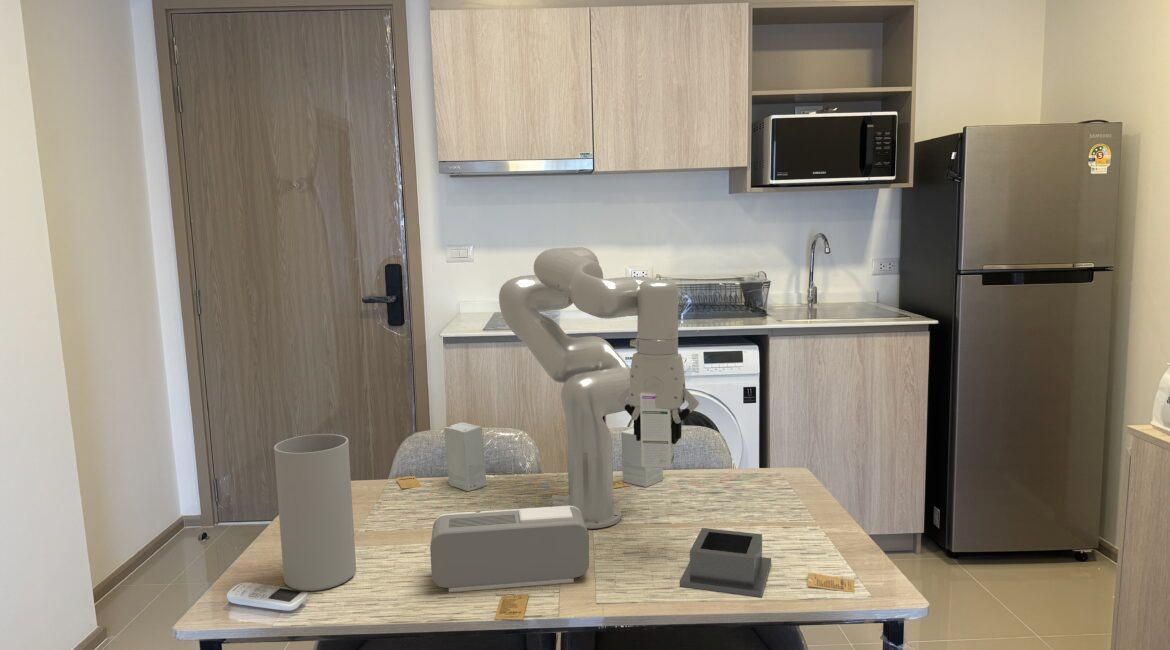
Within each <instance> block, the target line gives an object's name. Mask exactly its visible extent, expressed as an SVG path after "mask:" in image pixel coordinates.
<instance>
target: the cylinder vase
mask: <svg viewBox="0 0 1170 650" xmlns="http://www.w3.org/2000/svg"><path fill="white" fill-rule="evenodd" d="M349 446H350V444H349V438H348V437H347V436H344V435H341V434H334V433H318V434H317V433H315V434H307V435H300V436H295V437H291V438H290V437H289V438H288V439H285V440H281V441H280V442H277V443H276V444H274V446H273V451H274V452H273V453H274V463H275V478H276V491H277V493H276V494H277V503H278V505H277V507H278V517H279V521H278V522H279V531H280V532H279V533H280V543H281V544H280V547H281V559H282V573H283V581H284V583H285V584H286V585H287V586H288V587H289V588H290V589H293V590H296V591H297V590H298V591H302V592H303V591H304V592H313V591H314V592H316V591H322V590H328V589H331V588H335V587H337V586H340V585H343V584H344V583H346V582H347V581H349V580H351V578H353V576H354V575H355V573H356V571H357V562H356V561H357V560H356V543H355V526H354V513H353V511H354V510H353V498H352V497H353V496H352V495H353V493H352V492H353V491H352V479H351V476H352V475H351V464H350V462H351V461H350V447H349Z"/></svg>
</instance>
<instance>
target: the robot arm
mask: <svg viewBox="0 0 1170 650" xmlns="http://www.w3.org/2000/svg"><path fill="white" fill-rule="evenodd" d="M533 272H534V274H532V275H531V274H530V275H529V274H527V275H520V276H516V277H513V278H511V279H508V280H507V281H506V282H504V283H503V285H502V286H501V287H500V290H499V293H498V303H499V307H500V308H499V309H500V312H501V315H502V318H503V320H504V322H505V323H506V325H507V327H508V329H510V331H511V332H512V333H513V334H514V335H515V336H516V337H517V338H518V339H519V340H520V341H521V342H522V343H524V344H523V345H525V346H526V347H527V349H528V350H529V351H530V352H531V354H532V355H533V357H534V358H535V360H536V361H537V362H538V363H539V364H540V366H541V367H542V368H543V370H544V371H545V372H546V373H547V376H549V377H550V378H551V379H552V381H554V382H556V383H559V384H563V385H562V387H561V393H560V397H561V398H560V399H561V404H562V408H563V414H564V419H565V425H566V426H565V427H566V443H567V444H566V445H567V446H566V447H567V475H568V476H567V477H568V478H567V479H568V480H567V481H568V485H567V486H568V494H566V495H565V496H562V495H559V494H552V496H551V504H552V507H555V506H575V507H576V508H578V509H579V510H580V512H581V514H582V516H583V519H584V522H585V525H586V528H587V530H588V529H589V530H590V529H603V528H608V527H610V526H614V525H615V524H617V523H619V521H621V519H622V513H621V510H620V509H619V508H617V507H616V506H614V464H613V463H614V461H613V460H614V459H613V458H614V457H613V437H612V432H611V430H610V428H609V426H608V425H607V424H606V422H605V421H604V419H603V418H604V416H607V415H613V414H617V413H621V412H627V413H628V415H629V416H630V417H631V419H632V420H633V428H634V435H636V441H640V440H641V424H640V393H645V392H654V394H656V395H655V397H656V396H658V395H659V396H658V397H656V398H655V405H656V408H661V409H669V410H671V414H672V416H673V423H672V425H671V434H672V444H674V445H676V444H677V443H678V441H679V440H680V439H682V427H683V426H682V421H683V420H685V419H686V418H687V417H688V416H689V415H690V414H691V413H692V412H693V411H694V410H695V409H697V408H698V406H700V403H699V401H698V400H697V398H696V397H695V396H694V395H693V394H692V393H691V392H690V391H689V390H688V389H687V388H686V377H685V368H684V367H685V366H684V362H683V355H682V353H680V352H679V287H678V285H677V283H676V282H674V281H672V280H665V279H654V278H653V277H649V276H641V275H640V276H623V277H613V278H612V277H611V278H604V272H603V269H602V267H601V265H600V262H599V259H598V257H597V256H596V254H595V253H594V252H593V251H592V250H590V249H589V248H586V247H583V246H582V247H581V246H580V247H578V246H577V247H557V248H549V249H546V250H544V251H542V252H540V253H539V254H538V255H537V256H536V258H535V260H534V263H533ZM571 305H574V306H575V308H576V309H577V310H579V311H581V312H583V313H585V314H588V315H590V316H592V317H595V318H599V319H606V320H607V319H617V318H624V317H636V316H637V329H636V330H637V337H636V338H634V339H630V341H629V346H630V348H631V347H634V348H635V349H636V352H634V353H633V354H632V358H631V364H630V366H629V365H628V364H627V363H626V362H625V360H624V359H623V357H622V356H620V354H619V353H618V352H617V351H616V349H614V347H613V346H612V345H611V344H610V342H608V341H607V340H606V339H604V338H602V337H599V336H595V335H591V336H579V337H572V336H569V335H568V334H567V333H566V332H565V331H564V330H563V328H561V326H560V324H558V323H557V322H556V321H555V320H553V319H552V318H551V317H548V316H546V315H544V314H543V313H541V312H551V311H561V310H564V309H567V308H569V307H571ZM685 401H686V402H687V406H686V407H685V408H684V409H683V410H682V408H681V406H682V404H683V405H684V403H685Z"/></svg>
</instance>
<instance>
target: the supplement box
mask: <svg viewBox="0 0 1170 650" xmlns="http://www.w3.org/2000/svg"><path fill="white" fill-rule="evenodd" d="M620 433H621V459H622V461H621V465H622V469H621V470H622V482H623V483H627V484H630V485H636V486H639V487H643V488H644V487H645V488H648V487H650V486H652V485H655V484H657V483H660V482H661V481H663V480H664V468H648V467H642V466H641V440H640V441H636V435H634V427H632V428H628V429H626V430H623V431H621V432H620Z"/></svg>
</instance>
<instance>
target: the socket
mask: <svg viewBox="0 0 1170 650" xmlns="http://www.w3.org/2000/svg"><path fill="white" fill-rule="evenodd" d="M771 565H772V558H771V557H765V556H763V534H762V533H753V532H743V531H733V530H727V529H726V530H725V529H717V528H716V529H715V528H707V527H702V528H701V529H700V531H699V533H698V534H697V537H696V538H695V541H694V542H693V544H692V546H691V547H690V550H689V562H688V563H687V566H686V568H685V570H684V572H683V573H682V575H681V577H680V579H679V587H680V588H681V587H682V588H687V589H696V590H703V591H705V590H706V591H710V592H711V591H713V592H717V593H718V592H719V593H727V594H734V595H742V596H750V597H757V598H762V597H763V594H764V590H765V587H766V583H767V580H768V576H769V573H770V569H771Z"/></svg>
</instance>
